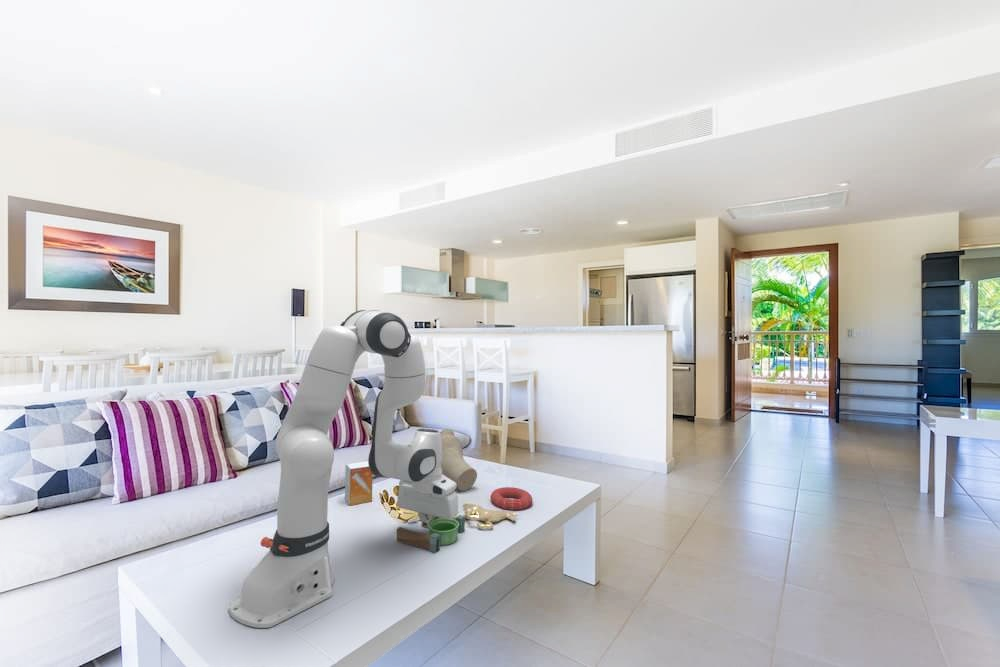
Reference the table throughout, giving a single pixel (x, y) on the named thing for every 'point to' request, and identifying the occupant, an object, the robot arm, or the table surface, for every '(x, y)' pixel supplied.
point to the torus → (511, 504)
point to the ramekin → (444, 530)
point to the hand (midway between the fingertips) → (426, 527)
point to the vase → (455, 461)
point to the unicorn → (486, 515)
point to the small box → (358, 483)
